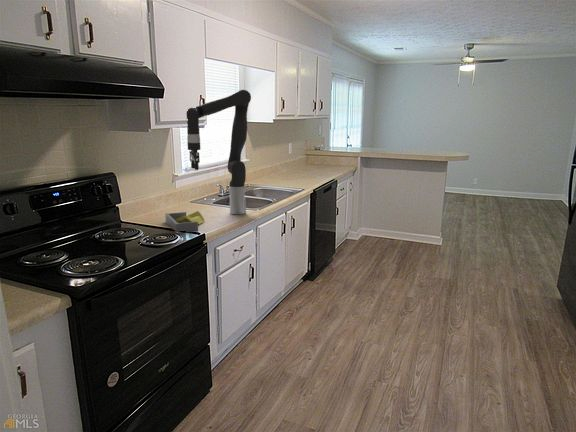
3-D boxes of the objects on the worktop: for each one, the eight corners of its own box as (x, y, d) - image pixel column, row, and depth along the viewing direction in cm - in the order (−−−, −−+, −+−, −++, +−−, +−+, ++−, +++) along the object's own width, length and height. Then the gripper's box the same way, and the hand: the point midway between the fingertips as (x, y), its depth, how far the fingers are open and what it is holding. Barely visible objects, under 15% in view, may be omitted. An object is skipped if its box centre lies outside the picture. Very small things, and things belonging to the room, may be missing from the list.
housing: (185, 220, 240) (185, 211, 239) (198, 231, 216) (197, 222, 215) (165, 222, 235) (165, 213, 234) (176, 233, 211) (175, 224, 210)
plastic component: (185, 216, 240) (200, 209, 238) (191, 228, 240) (205, 221, 238) (170, 221, 220) (186, 214, 218) (176, 234, 221) (192, 227, 219)
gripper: (203, 142, 243) (204, 169, 246) (197, 141, 255) (198, 167, 259) (190, 142, 239) (191, 170, 243) (184, 141, 252) (186, 168, 255)
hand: (194, 168), depth 251 cm, fingers open, 8 cm apart
